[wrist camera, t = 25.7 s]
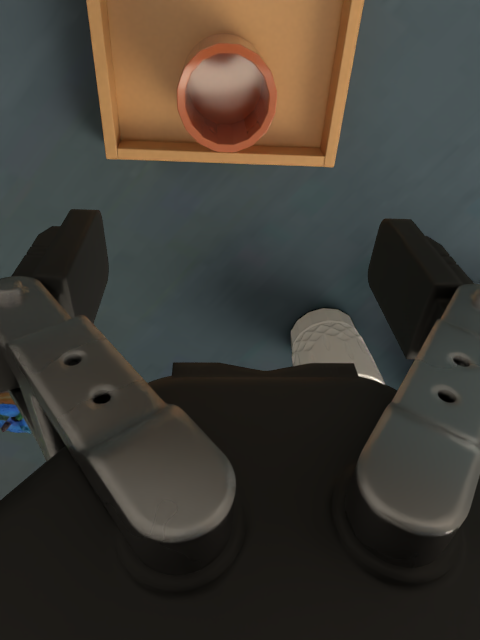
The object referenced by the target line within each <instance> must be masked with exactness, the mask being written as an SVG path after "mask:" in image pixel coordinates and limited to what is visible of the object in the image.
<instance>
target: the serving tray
mask: <svg viewBox="0 0 480 640" xmlns="http://www.w3.org/2000/svg"><path fill="white" fill-rule="evenodd" d="M86 2H87V10H88V18H89V25H90V33H91V41H92V49H93V57H94V65H95V73H96V81H97V88H98V96H99V104H100V112H101V120H102V128H103V136H104V144H105V152H106V158H107V159H128V160H155V161H182V162H209V163H237V164H264V165H291V166H318V167H322V166H324V167H334V164H335V158H336V153H337V147H338V141H339V136H340V130H341V125H342V119H343V114H344V108H345V103H346V97H347V92H348V86H349V81H350V75H351V70H352V64H353V59H354V53H355V48H356V42H357V37H358V31H359V26H360V20H361V15H362V9H363V4H364V0H86ZM218 33H231V34H235V35H238V36H240V37H243V38H244V39H246V40H247V41H249V42H250V43H252V44H253V45H254V46H255V48H256V49H257V50H258V52H259V53H260V54H261V56H262V57H263V58H264V60H265V62H266V63H267V65H268V67H269V68H270V70H271V72H272V75H273V78H274V82H275V86H276V89H277V103H276V113H275V116H274V118H273V120H272V122H271V124H270V126H269V128H268V131H267V132H266V133H265V134H264V135H263V136H262V137H261V138H260V139H259V140H258V141H257V142H256V143H255V144H254V145H252V146H250V147H248V148H245V149H242V150H240V151H237V152H217V151H214V150H211V149H209V148H207V147H205V146H203V145H201V144H199V143H198V142H197V141H196V140H195V139H194V138H193V137H192V136H191V135H190V134H189V133H188V132H187V131H186V129H185V127H184V125H183V123H182V120H181V118H180V115H179V113H178V110H177V85H178V82H179V78H180V75H181V72H182V69H183V66H184V63H185V60H186V57H187V55H188V54H189V53H190V51H191V50H192V49H193V47H194V46H195V45H196V44H197V43H198V42H199V41H201V40H202V39H204V38H206V37H208V36H210V35H213V34H218Z"/></svg>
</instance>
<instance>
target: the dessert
mask: <svg viewBox="0 0 480 640" xmlns="http://www.w3.org/2000/svg"><path fill="white" fill-rule="evenodd" d="M0 428H1V429H2V432H4V431H5V430H9V431H10V432H17V433H21V432H24V433H25V432H27V433H28V432H29V434H30V433H32V432H31V430H30V429H29V427H28V425H27V423H26V422H25V420H24V418H23V417H22V415H21V413H20V412H19V410H18V408H17V406H16V405H15V403H14V401H13V400H12V398H11V396H10V394H9V392H8V391H3V392H0Z"/></svg>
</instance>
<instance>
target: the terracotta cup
mask: <svg viewBox="0 0 480 640" xmlns="http://www.w3.org/2000/svg"><path fill="white" fill-rule="evenodd" d="M276 103H277V89H276V86H275V82H274V78H273V75H272V72H271V70H270V68H269V67H268V65H267V63H266V62H265V60H264V58H263V57H262V56H261V54H260V53H259V52H258V50H257V49H256V48H255V46H254V45H253V44H252V43H250V42H249V41H247V40H246V39H244V38H243V37H240V36H238V35H235V34H231V33H218V34H213V35H210V36H208V37H206V38H204V39H202V40H201V41H199V42H198V43H197V44H196V45H195V46H194V47H193V49H192V50H191V51H190V53H189V54H188V55H187V57H186V60H185V63H184V66H183V69H182V72H181V75H180V78H179V82H178V85H177V110H178V113H179V115H180V118H181V120H182V123H183V125H184V127H185V129H186V131H187V132H188V133H189V134H190V135H191V136H192V137H193V138H194V139H195V140H196V141H197V142H198V143H199V144H201V145H203V146H205V147H207V148H209V149H211V150H214V151H217V152H237V151H240V150H242V149H245V148H248V147H250V146H252V145H254V144H255V143H256V142H257V141H258V140H259V139H260V138H261V137H262V136H263V135H264V134H265V133H266V132H267V131H268V128H269V126H270V124H271V122H272V120H273V118H274V116H275V113H276Z"/></svg>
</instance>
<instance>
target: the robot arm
mask: <svg viewBox="0 0 480 640" xmlns="http://www.w3.org/2000/svg"><path fill="white" fill-rule="evenodd" d="M108 273H109V264H108V256H107V249H106V242H105V235H104V228H103V221H102V216H101V213H100V211H99V210H80V209H71V210H70V211H69V213H68V215H67V216H66V218H65V220H64V222H63V223H62V225H61V226H52V227H50V228H48V229H47V230H45V231H44V232H42V233H41V234H39V235H38V236H37V238H36V239H35V241H34V242H33V244H32V247H30V249H29V250H28V252H27V255H25V256H24V258H23V259H22V261H21V262H20V264H19V265H18V267H17V268H16V270H15V272H14V273H13V275H12V276H11V277H5V278H1V279H0V392H3V391H8V392H9V394H10V396H11V398H12V400H13V401H14V403H15V405H16V406H17V408H18V410H19V412H20V413H21V415H22V417H23V418H24V420H25V422H26V423H27V425H28V427H29V429H30V430H31V432H32V434H33V435H34V437H35V439H36V441H37V442H38V444H39V446H40V448H41V450H42V453H43V455H44V457H45V459H46V462H45V463H44V464H43V465H42V466H41V467H39V468H38V469H37V470H36V471H35V472H34V473H32V474H31V475H30V476H29V477H28V478H26V479H25V480H24V481H23V482H22V483H21V484H19V485H18V486H17V487H16V488H15V489H13V490H12V491H11V492H10V493H9V494H7V495H6V496H5V497H4V498H3V499H2V500H0V640H480V284H474V283H473V282H472V281H471V279H470V278H469V277H468V276H467V275H466V274H465V272H464V271H463V270H462V269H461V268H460V267H459V265H456V262H455V261H454V259H453V258H452V257H449V254H448V252H447V251H446V250H445V249H444V248H443V246H442V245H440V244H439V243H437V242H436V241H434V240H432V239H431V238H429V237H428V236H424V234H423V233H422V232H421V231H420V229H419V228H418V227H417V226H416V224H415V223H414V222H413V221H412V220H411V219H384V220H383V221H382V222H381V224H380V227H379V230H378V234H377V238H376V241H375V245H374V249H373V253H372V256H371V260H370V264H369V269H368V282H369V286H370V288H371V290H372V292H373V294H374V296H375V298H376V300H377V302H378V304H379V306H380V308H381V310H382V312H383V314H384V316H385V318H386V320H387V322H388V324H389V326H390V328H391V330H392V331H393V333H394V335H395V337H396V339H397V341H398V343H399V345H400V347H401V349H402V351H403V353H404V355H405V357H406V359H415V360H414V362H413V364H412V366H411V368H410V369H409V371H408V373H407V375H406V377H405V378H404V380H403V382H402V384H401V386H400V387H399V389H398V391H397V390H395V389H393V388H391V387H389V386H387V385H385V384H382V383H380V382H377V381H374V380H371V379H367V378H364V377H359V376H358V373H357V370H356V368H355V365H354V363H308V364H303V365H297V366H292V367H287V368H282V369H277V370H272V371H260V370H255V369H250V368H244V367H239V366H234V365H228V364H223V363H173V370H172V376H169V377H164V378H161V379H157V380H154V381H152V382H149V383H146V381H145V380H144V379H143V378H142V377H141V376H140V375H139V374H138V373H137V372H136V371H135V369H134V368H133V367H132V366H131V365H130V364H129V363H128V362H127V361H126V360H125V358H124V357H123V356H122V355H121V354H120V353H119V352H118V351H117V350H116V349H115V347H114V346H113V345H112V344H111V343H110V342H109V341H108V340H107V339H106V338H105V337H104V335H103V334H102V333H101V332H100V331H99V330H98V329H97V328H96V327H95V326H94V324H93V323H94V320H95V317H96V314H97V311H98V308H99V305H100V302H101V299H102V296H103V293H104V290H105V287H106V284H107V281H108Z"/></svg>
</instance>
